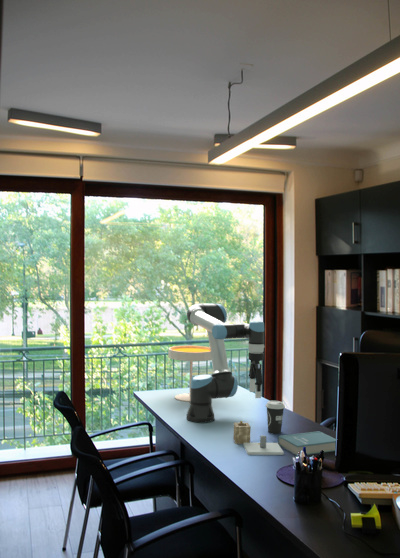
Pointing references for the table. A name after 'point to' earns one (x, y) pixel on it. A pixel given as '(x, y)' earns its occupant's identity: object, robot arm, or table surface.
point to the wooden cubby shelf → (241, 433)
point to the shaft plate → (263, 448)
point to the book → (307, 442)
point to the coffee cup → (275, 416)
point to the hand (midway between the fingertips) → (255, 394)
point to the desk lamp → (189, 355)
